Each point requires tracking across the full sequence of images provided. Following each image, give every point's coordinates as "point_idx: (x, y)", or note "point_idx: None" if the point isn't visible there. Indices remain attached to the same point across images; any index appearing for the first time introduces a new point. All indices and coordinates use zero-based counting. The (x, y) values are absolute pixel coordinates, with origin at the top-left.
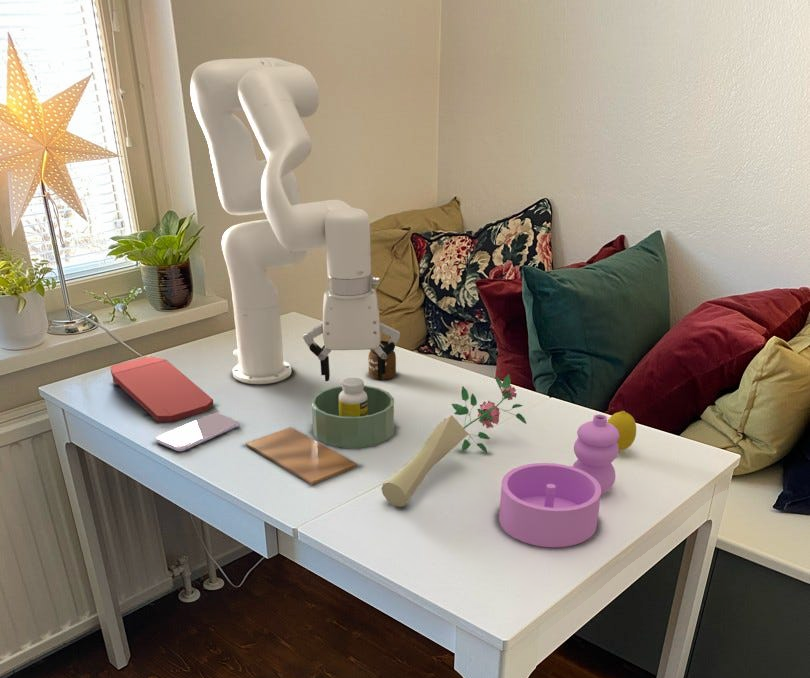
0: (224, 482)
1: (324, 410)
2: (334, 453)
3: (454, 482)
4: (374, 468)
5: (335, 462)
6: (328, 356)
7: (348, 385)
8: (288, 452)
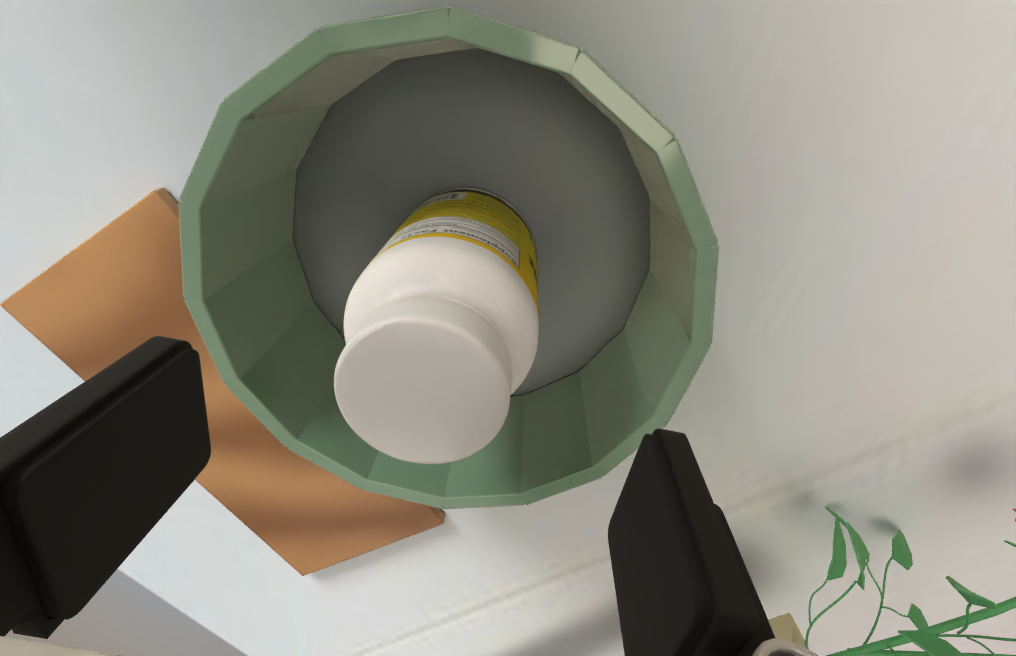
0: None
1: (303, 114)
2: None
3: None
4: (498, 531)
5: (372, 504)
6: (21, 514)
7: (382, 451)
8: None
